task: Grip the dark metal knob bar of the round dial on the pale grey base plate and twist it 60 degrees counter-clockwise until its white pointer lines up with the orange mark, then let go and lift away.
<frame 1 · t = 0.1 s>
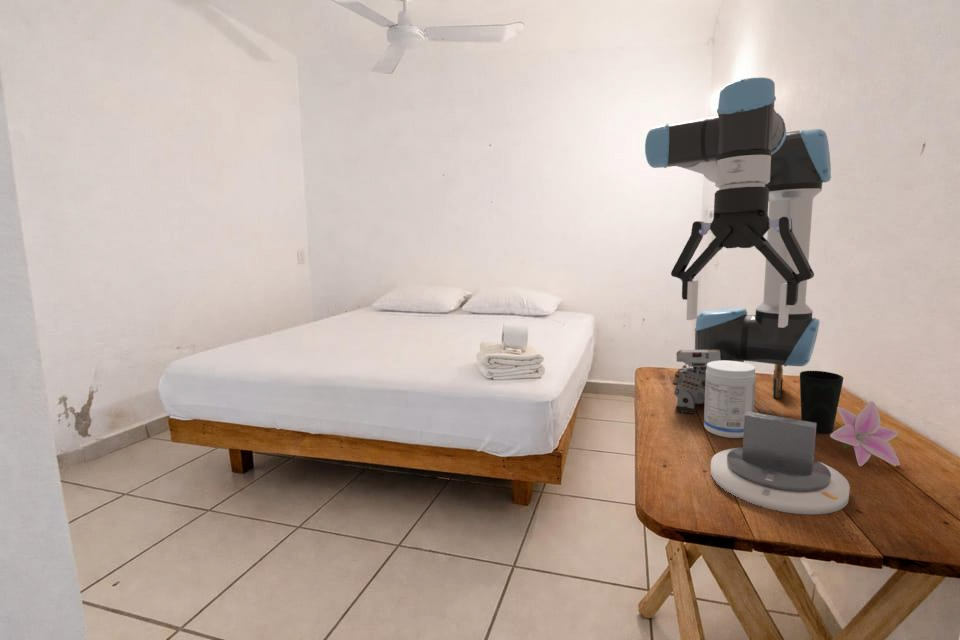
hand: (734, 322, 79), 28 cm above the table, tool pointing down, fingers open, 13 cm apart
lily: (861, 459, 92), on the table
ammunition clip: (776, 393, 131), on the table
figurine: (698, 410, 120), on the table
supplement tub: (727, 432, 106), on the table
cup: (816, 429, 106), on the table
dial: (777, 444, 82), point 7 cm above the table, hinge at 0.0°
dial base: (775, 482, 83), on the table
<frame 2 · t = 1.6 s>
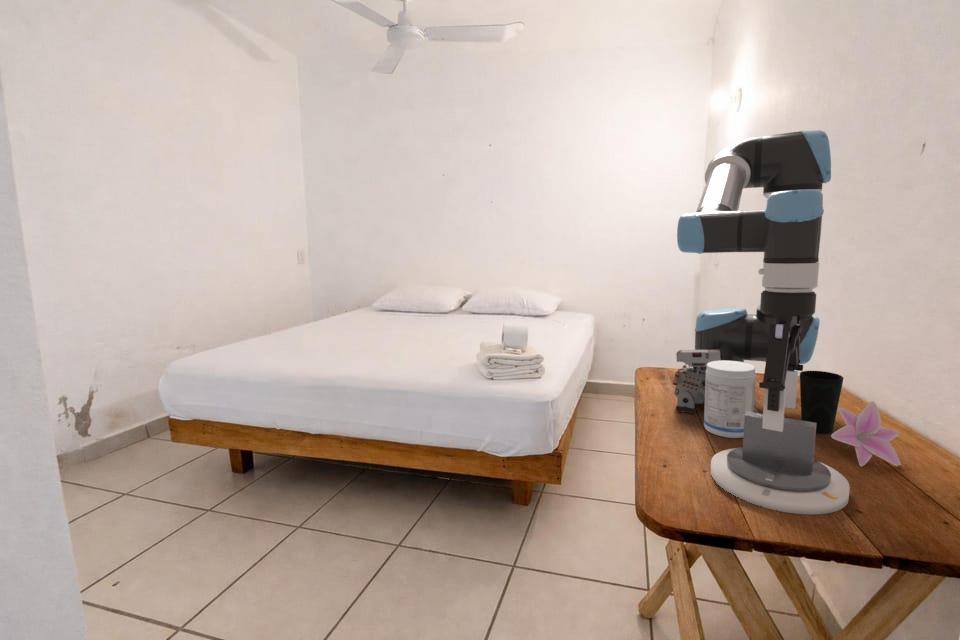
hand: (779, 417, 81), 12 cm above the table, tool pointing down, fingers open, 13 cm apart
nothing on the table moved.
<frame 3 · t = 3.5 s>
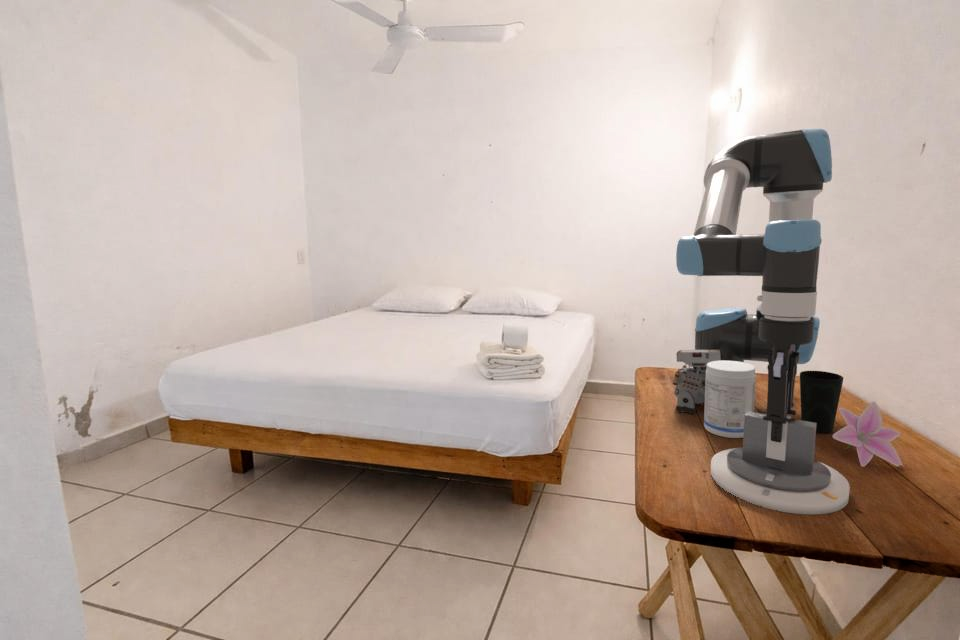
hand: (777, 454, 83), 5 cm above the table, tool pointing down, fingers closed on dial, 2 cm apart
dial: (777, 444, 82), point 7 cm above the table, hinge at 0.0°, touching gripper
everything else where it was.
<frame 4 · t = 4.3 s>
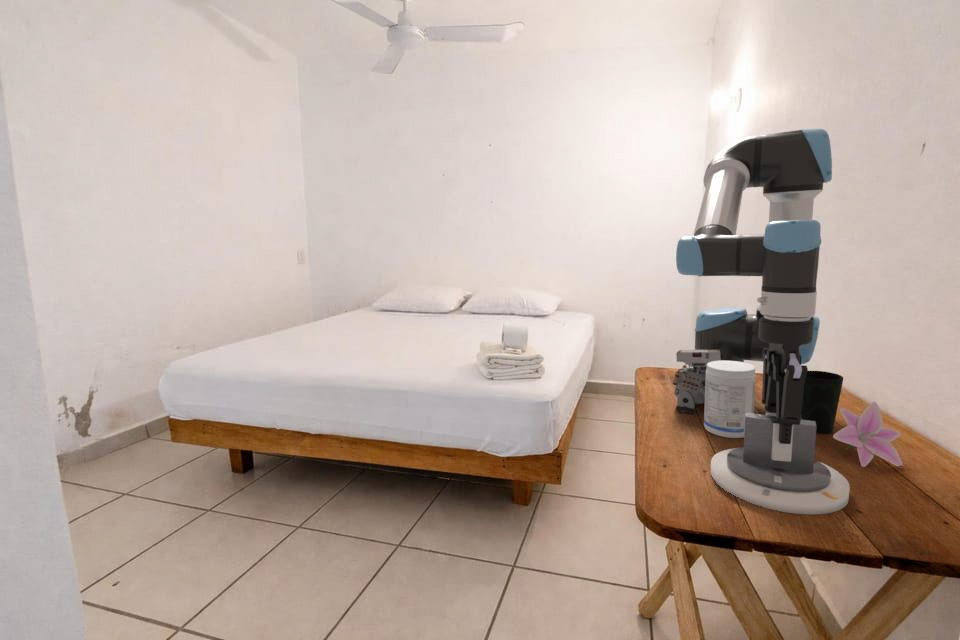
hand: (776, 454, 83), 5 cm above the table, tool pointing down, fingers closed on dial, 3 cm apart
dial: (777, 444, 82), point 7 cm above the table, hinge at 9.8°, touching gripper
everything else where it was.
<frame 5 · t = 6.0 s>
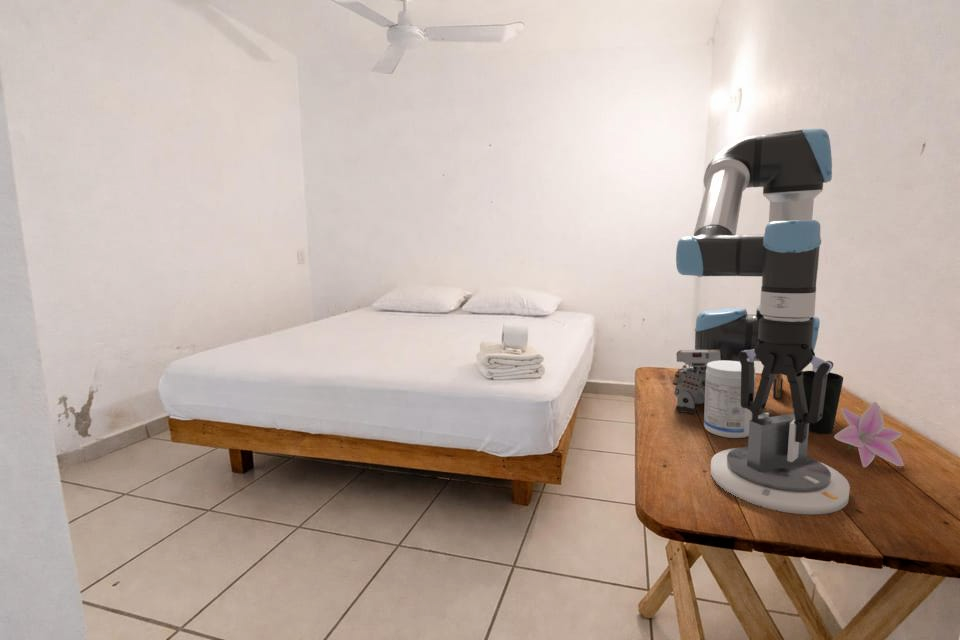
hand: (776, 454, 83), 5 cm above the table, tool pointing down, fingers closed on dial, 4 cm apart
dial: (777, 444, 82), point 7 cm above the table, hinge at 55.8°, touching gripper
everything else where it was.
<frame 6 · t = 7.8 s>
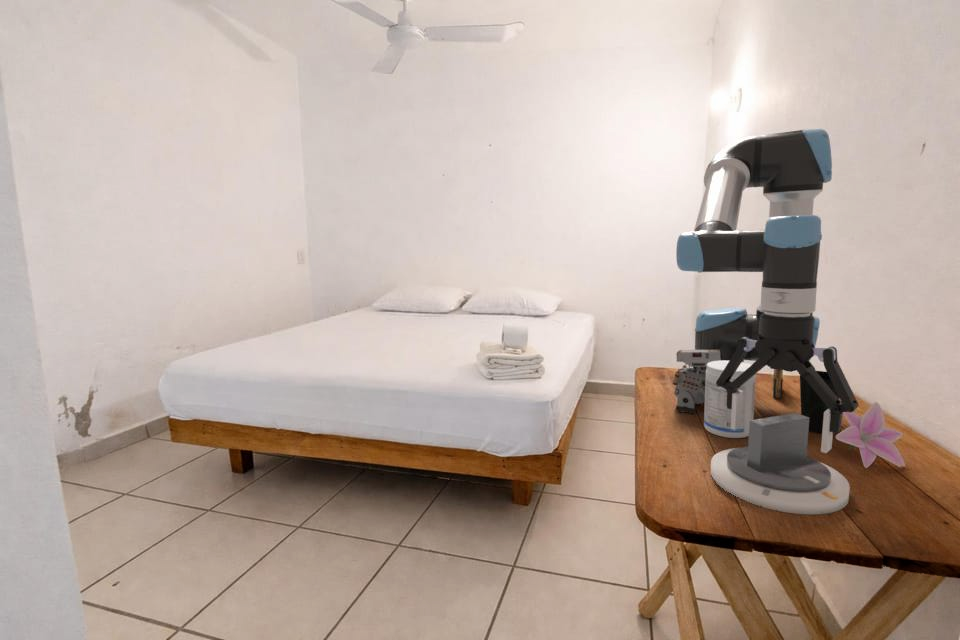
hand: (778, 438, 82), 8 cm above the table, tool pointing down, fingers open, 13 cm apart
dial: (777, 444, 82), point 7 cm above the table, hinge at 56.4°
everything else where it was.
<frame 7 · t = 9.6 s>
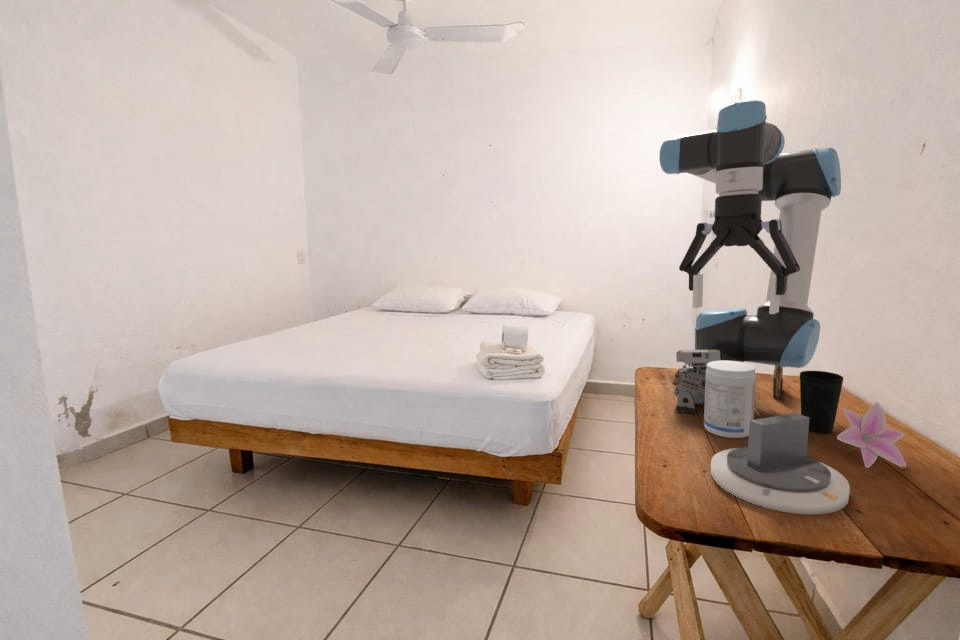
hand: (733, 310, 92), 28 cm above the table, tool pointing down, fingers open, 13 cm apart
nothing on the table moved.
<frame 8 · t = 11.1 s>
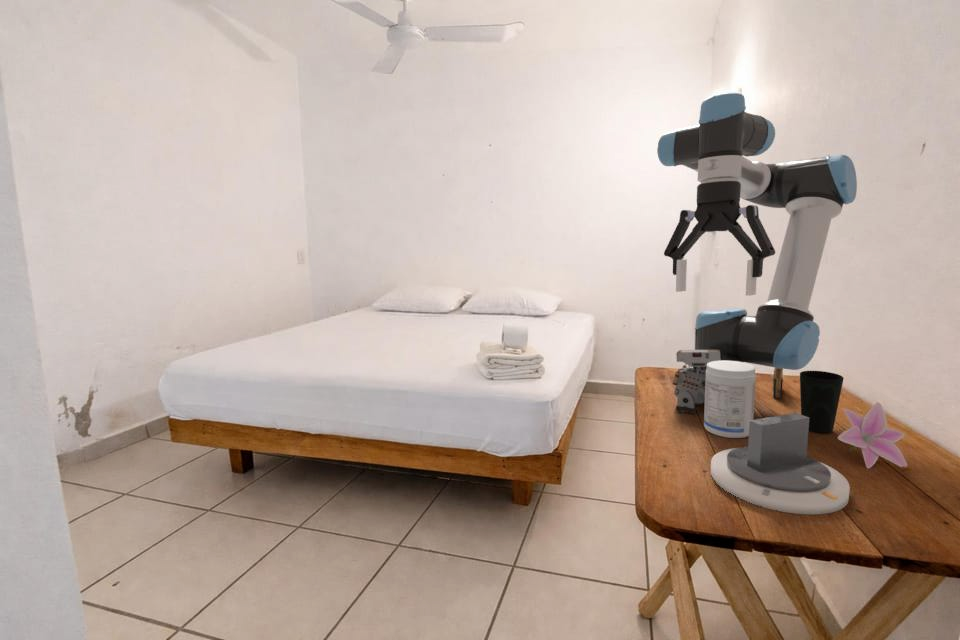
hand: (713, 293, 97), 31 cm above the table, tool pointing down, fingers open, 13 cm apart
at the end: dial at +56° (first picture: +0°); the gripper is holding nothing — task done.
